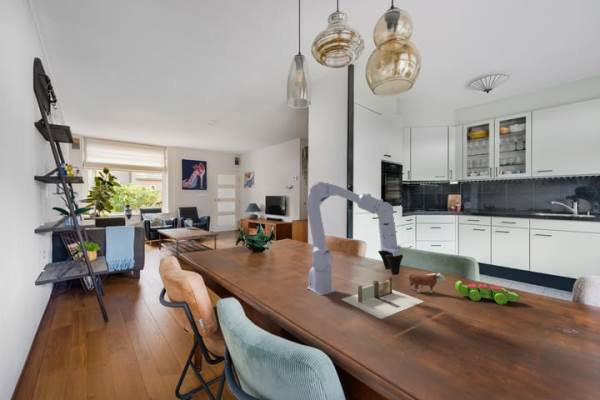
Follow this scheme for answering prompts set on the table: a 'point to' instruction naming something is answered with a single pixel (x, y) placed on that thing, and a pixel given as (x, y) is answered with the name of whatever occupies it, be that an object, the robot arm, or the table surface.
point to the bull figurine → (425, 280)
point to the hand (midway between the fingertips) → (391, 271)
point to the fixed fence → (382, 287)
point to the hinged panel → (365, 293)
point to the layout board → (384, 303)
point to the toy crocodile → (486, 292)
